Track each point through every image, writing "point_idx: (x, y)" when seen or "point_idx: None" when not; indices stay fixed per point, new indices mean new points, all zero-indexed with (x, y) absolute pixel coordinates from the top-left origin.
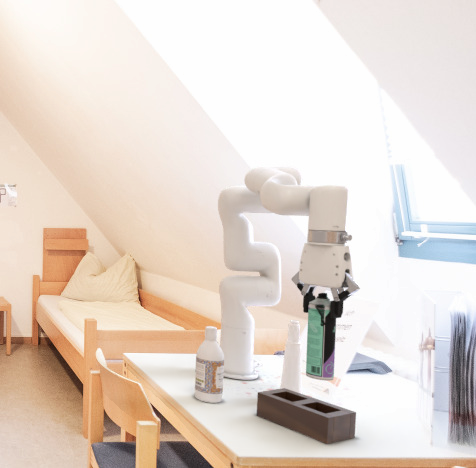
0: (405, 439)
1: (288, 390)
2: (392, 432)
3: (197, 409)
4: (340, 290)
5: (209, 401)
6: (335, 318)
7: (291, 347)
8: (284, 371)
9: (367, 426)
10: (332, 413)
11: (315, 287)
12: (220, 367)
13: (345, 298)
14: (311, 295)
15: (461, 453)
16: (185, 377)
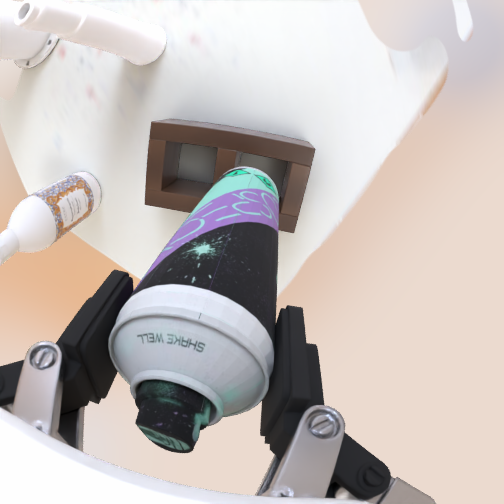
0: (363, 74)
1: (164, 129)
2: (338, 55)
3: (112, 249)
4: (299, 488)
5: (96, 209)
6: (275, 313)
7: (80, 38)
8: (107, 51)
9: (299, 58)
10: (289, 200)
11: (55, 417)
12: (64, 220)
13: (343, 444)
14: (84, 378)
15: (427, 76)
16: (17, 135)
